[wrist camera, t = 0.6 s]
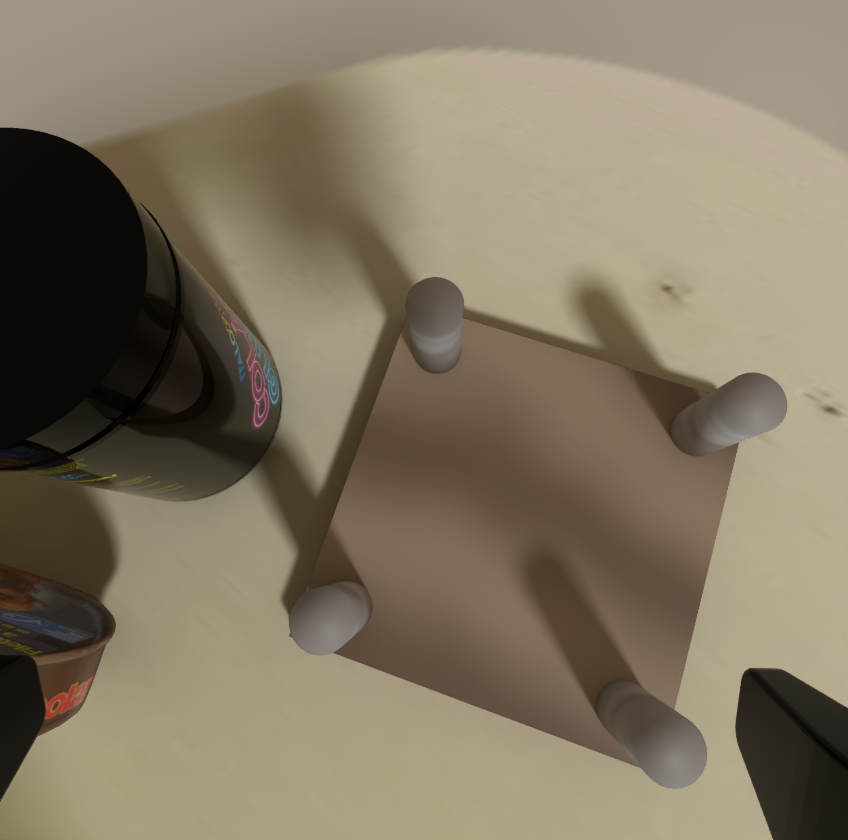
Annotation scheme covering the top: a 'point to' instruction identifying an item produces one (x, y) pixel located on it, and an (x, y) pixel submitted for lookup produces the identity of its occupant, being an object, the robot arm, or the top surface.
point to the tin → (54, 637)
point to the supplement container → (116, 340)
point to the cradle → (533, 532)
